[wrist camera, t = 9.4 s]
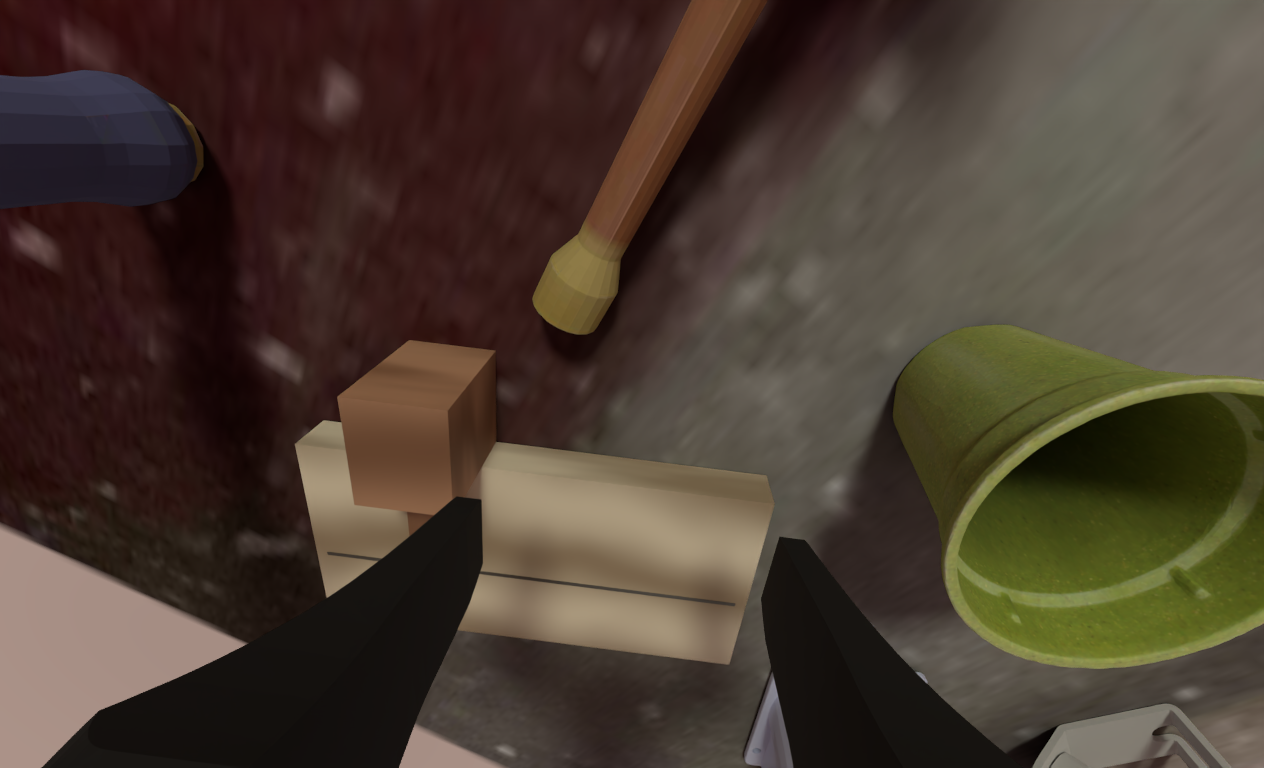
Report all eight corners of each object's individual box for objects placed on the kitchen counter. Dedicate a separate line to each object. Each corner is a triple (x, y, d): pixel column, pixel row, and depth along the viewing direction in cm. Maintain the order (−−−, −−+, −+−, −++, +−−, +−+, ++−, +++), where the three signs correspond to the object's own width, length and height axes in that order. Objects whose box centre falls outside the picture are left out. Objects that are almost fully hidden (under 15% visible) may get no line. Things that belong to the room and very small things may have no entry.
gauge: (497, 557, 26) (460, 648, 22) (427, 548, 26) (375, 638, 22) (495, 350, 21) (447, 410, 17) (409, 339, 21) (337, 397, 17)
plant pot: (949, 523, 24) (1087, 714, 16) (798, 410, 22) (872, 564, 14) (1148, 378, 20) (1452, 530, 12) (990, 226, 18) (1234, 293, 10)
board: (725, 630, 27) (729, 665, 26) (352, 582, 28) (329, 614, 26) (766, 475, 23) (774, 504, 21) (323, 420, 23) (294, 444, 22)
